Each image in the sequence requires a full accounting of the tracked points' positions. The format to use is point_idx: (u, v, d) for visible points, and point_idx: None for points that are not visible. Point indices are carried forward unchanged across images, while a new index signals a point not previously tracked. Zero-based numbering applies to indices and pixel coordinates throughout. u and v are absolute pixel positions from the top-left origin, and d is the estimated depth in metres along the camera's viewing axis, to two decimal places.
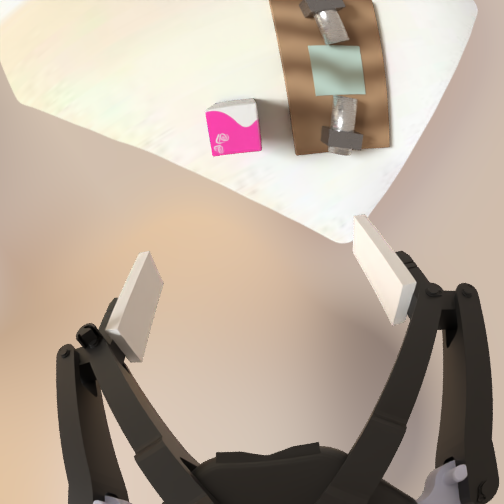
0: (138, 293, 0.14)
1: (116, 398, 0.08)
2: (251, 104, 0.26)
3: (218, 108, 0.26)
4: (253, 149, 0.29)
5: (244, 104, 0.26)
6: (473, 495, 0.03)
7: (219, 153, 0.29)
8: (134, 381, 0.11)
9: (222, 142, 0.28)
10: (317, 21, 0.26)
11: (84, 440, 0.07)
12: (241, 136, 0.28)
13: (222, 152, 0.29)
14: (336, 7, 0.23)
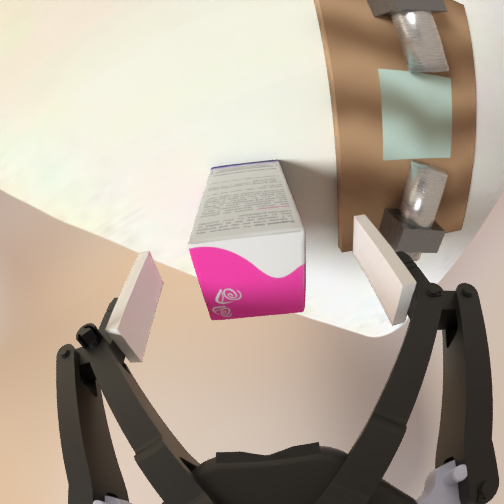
0: (138, 293, 0.14)
1: (116, 398, 0.08)
2: (294, 234, 0.13)
3: (217, 240, 0.13)
4: (289, 311, 0.16)
5: (277, 232, 0.13)
6: (473, 495, 0.03)
7: (224, 316, 0.16)
8: (134, 381, 0.11)
9: (229, 301, 0.15)
10: (401, 27, 0.12)
11: (84, 440, 0.07)
12: (266, 293, 0.15)
13: (229, 316, 0.16)
14: (434, 9, 0.10)
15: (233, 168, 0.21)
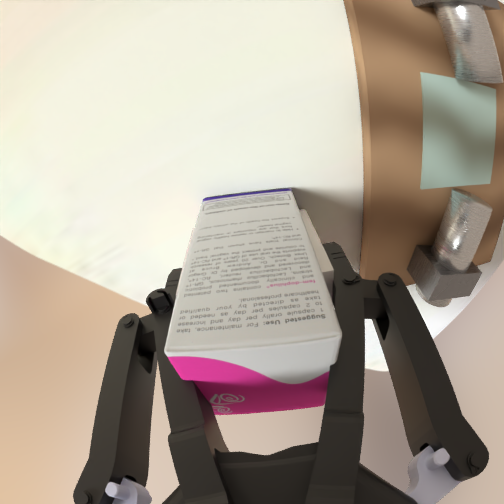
0: None
1: (170, 371, 0.09)
2: (325, 341, 0.08)
3: (207, 349, 0.08)
4: (306, 407, 0.11)
5: (300, 340, 0.08)
6: (465, 470, 0.04)
7: (222, 413, 0.11)
8: None
9: (229, 403, 0.10)
10: (450, 22, 0.07)
11: (121, 420, 0.08)
12: (279, 396, 0.10)
13: (228, 412, 0.11)
14: (487, 5, 0.05)
15: (231, 201, 0.16)
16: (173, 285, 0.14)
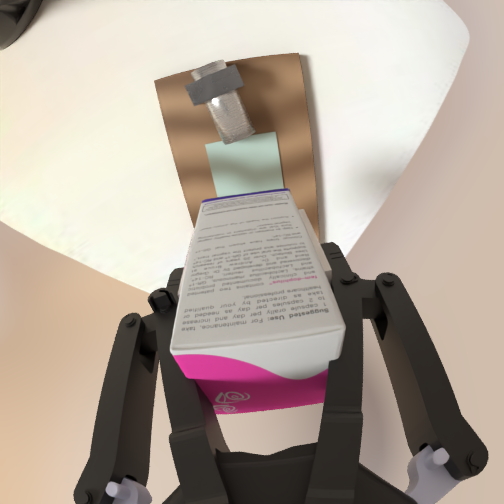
0: None
1: (172, 371, 0.09)
2: (330, 334, 0.08)
3: (213, 346, 0.08)
4: (311, 403, 0.11)
5: (305, 334, 0.08)
6: (464, 470, 0.04)
7: (227, 412, 0.11)
8: None
9: (234, 401, 0.10)
10: (209, 113, 0.25)
11: (122, 420, 0.08)
12: (284, 393, 0.10)
13: (234, 411, 0.11)
14: (230, 89, 0.23)
15: (230, 202, 0.16)
16: (175, 284, 0.14)
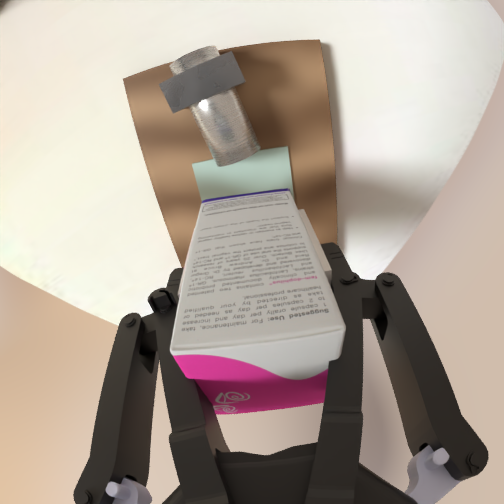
0: None
1: (171, 371, 0.09)
2: (330, 335, 0.08)
3: (213, 346, 0.08)
4: (311, 403, 0.11)
5: (305, 334, 0.08)
6: (464, 470, 0.04)
7: (227, 412, 0.11)
8: None
9: (234, 401, 0.10)
10: (196, 122, 0.18)
11: (122, 420, 0.08)
12: (284, 393, 0.10)
13: (234, 411, 0.11)
14: (225, 87, 0.15)
15: (230, 202, 0.16)
16: (175, 284, 0.14)
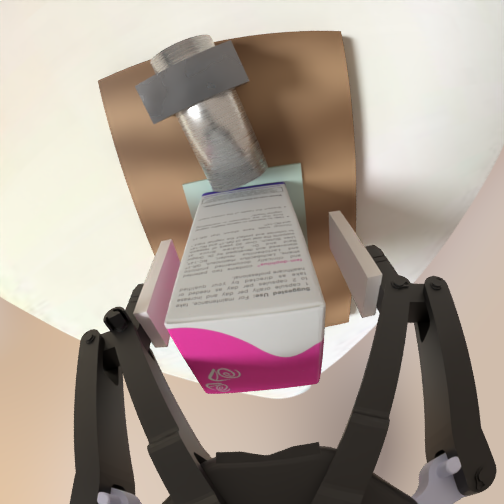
0: (163, 279, 0.15)
1: (137, 385, 0.09)
2: (310, 310, 0.09)
3: (203, 320, 0.09)
4: (300, 384, 0.12)
5: (287, 309, 0.09)
6: (471, 484, 0.03)
7: (220, 391, 0.12)
8: (158, 369, 0.11)
9: (226, 379, 0.11)
10: (185, 134, 0.14)
11: (98, 430, 0.07)
12: (273, 371, 0.11)
13: (227, 390, 0.12)
14: (222, 89, 0.12)
15: (228, 195, 0.17)
16: (135, 301, 0.14)
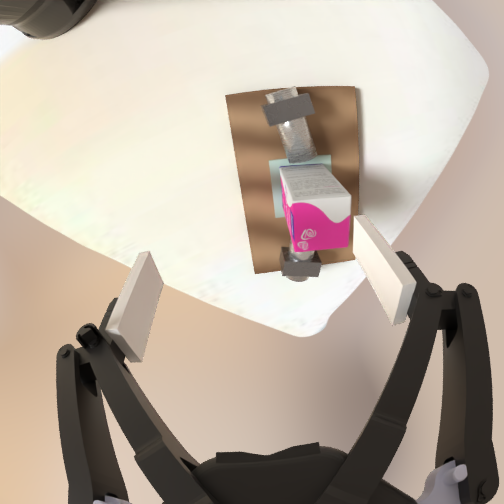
0: (138, 293, 0.14)
1: (116, 398, 0.08)
2: (346, 197, 0.24)
3: (308, 199, 0.24)
4: (340, 246, 0.26)
5: (338, 196, 0.24)
6: (473, 495, 0.03)
7: (303, 249, 0.26)
8: (134, 381, 0.11)
9: (308, 238, 0.26)
10: (279, 133, 0.29)
11: (84, 440, 0.07)
12: (329, 232, 0.25)
13: (306, 249, 0.26)
14: (303, 115, 0.27)
15: (295, 167, 0.32)
16: (110, 316, 0.13)
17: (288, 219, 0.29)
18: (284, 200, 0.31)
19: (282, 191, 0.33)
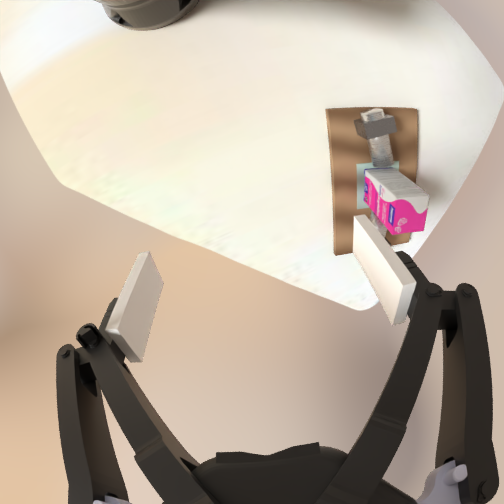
0: (138, 293, 0.14)
1: (116, 398, 0.08)
2: (426, 196, 0.30)
3: (405, 197, 0.30)
4: (419, 230, 0.33)
5: (422, 195, 0.30)
6: (473, 495, 0.03)
7: (397, 232, 0.33)
8: (134, 381, 0.11)
9: (402, 224, 0.32)
10: (369, 144, 0.36)
11: (84, 440, 0.07)
12: (414, 220, 0.32)
13: (399, 232, 0.33)
14: (389, 132, 0.33)
15: (377, 170, 0.38)
16: (110, 316, 0.13)
17: (381, 210, 0.36)
18: (373, 196, 0.38)
19: (369, 188, 0.39)
